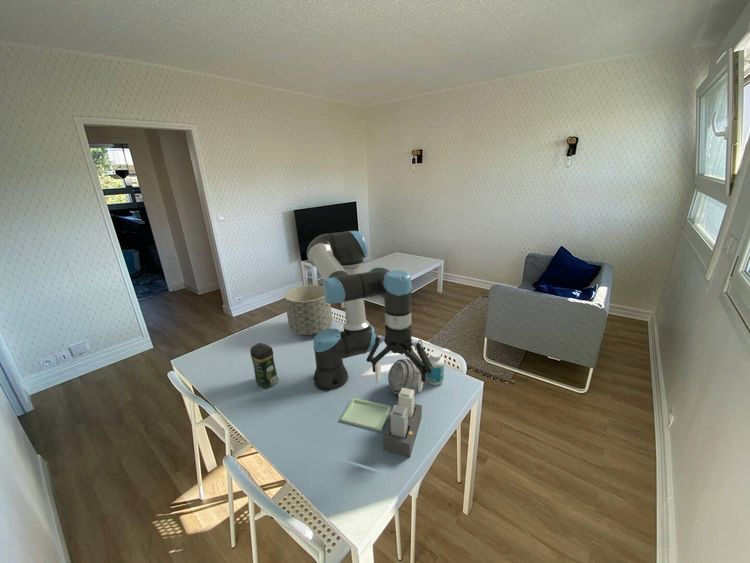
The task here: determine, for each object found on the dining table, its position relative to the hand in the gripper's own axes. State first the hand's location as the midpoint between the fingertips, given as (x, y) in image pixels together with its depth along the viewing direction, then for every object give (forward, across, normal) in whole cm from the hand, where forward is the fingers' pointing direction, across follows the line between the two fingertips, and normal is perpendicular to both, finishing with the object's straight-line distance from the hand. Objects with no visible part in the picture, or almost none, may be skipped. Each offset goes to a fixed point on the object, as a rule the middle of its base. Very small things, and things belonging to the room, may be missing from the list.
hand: (398, 384), depth 96 cm
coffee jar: (+25, -65, +13) cm, 71 cm away
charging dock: (+24, 0, +4) cm, 25 cm away
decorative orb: (+25, -4, +25) cm, 36 cm away
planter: (+25, -71, +61) cm, 97 cm away
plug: (+22, 0, 0) cm, 22 cm away
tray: (+24, -15, +8) cm, 30 cm away
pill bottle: (+25, +6, +36) cm, 44 cm away
